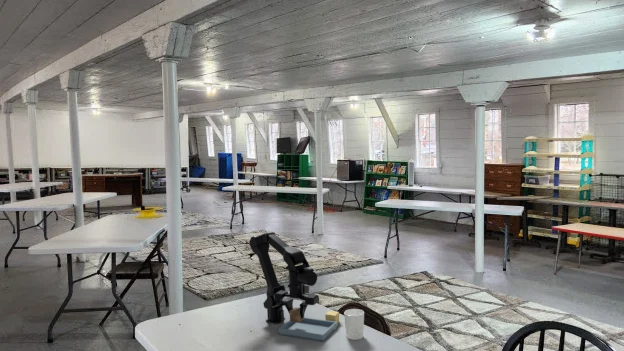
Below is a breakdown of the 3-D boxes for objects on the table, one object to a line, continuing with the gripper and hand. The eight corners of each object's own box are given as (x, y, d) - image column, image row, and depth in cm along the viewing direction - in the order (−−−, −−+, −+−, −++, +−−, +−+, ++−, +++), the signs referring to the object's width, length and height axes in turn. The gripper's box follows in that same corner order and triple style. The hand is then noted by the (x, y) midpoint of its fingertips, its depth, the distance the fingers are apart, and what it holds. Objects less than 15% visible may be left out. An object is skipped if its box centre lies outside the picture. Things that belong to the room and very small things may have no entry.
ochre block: (325, 324, 201) (325, 314, 201) (329, 320, 205) (329, 310, 205) (335, 325, 199) (334, 315, 199) (339, 322, 203) (338, 312, 203)
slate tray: (278, 334, 192) (278, 328, 192) (295, 321, 206) (295, 315, 205) (322, 341, 183) (322, 335, 183) (337, 327, 197) (337, 321, 197)
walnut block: (290, 321, 195) (289, 310, 195) (295, 317, 199) (294, 307, 199) (299, 322, 193) (299, 311, 193) (304, 318, 197) (304, 308, 197)
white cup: (363, 341, 182) (363, 316, 182) (343, 340, 184) (342, 315, 183) (365, 333, 190) (364, 309, 190) (346, 332, 192) (345, 308, 191)
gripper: (324, 277, 198) (325, 313, 200) (285, 274, 207) (286, 308, 208) (312, 285, 188) (314, 323, 190) (272, 280, 197) (274, 317, 198)
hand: (297, 317), depth 196 cm, fingers closed on walnut block, 4 cm apart
